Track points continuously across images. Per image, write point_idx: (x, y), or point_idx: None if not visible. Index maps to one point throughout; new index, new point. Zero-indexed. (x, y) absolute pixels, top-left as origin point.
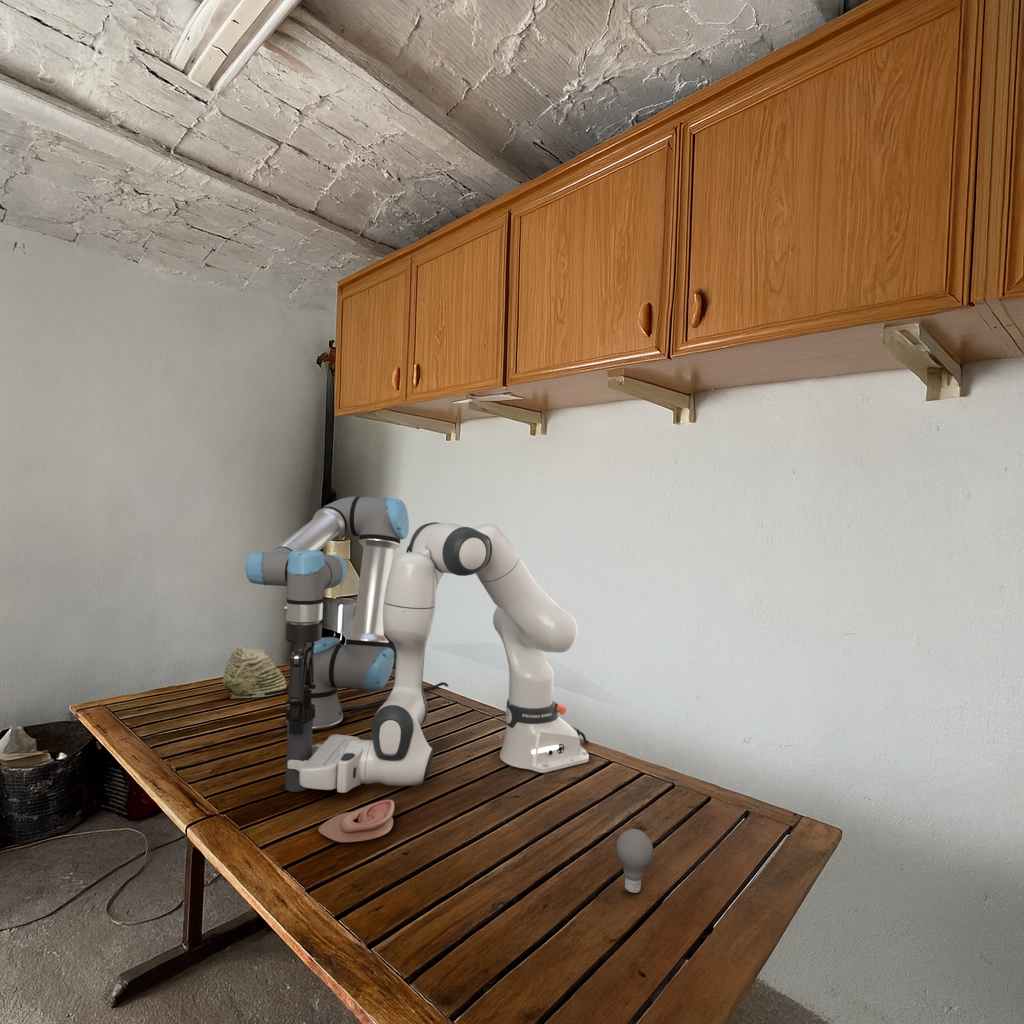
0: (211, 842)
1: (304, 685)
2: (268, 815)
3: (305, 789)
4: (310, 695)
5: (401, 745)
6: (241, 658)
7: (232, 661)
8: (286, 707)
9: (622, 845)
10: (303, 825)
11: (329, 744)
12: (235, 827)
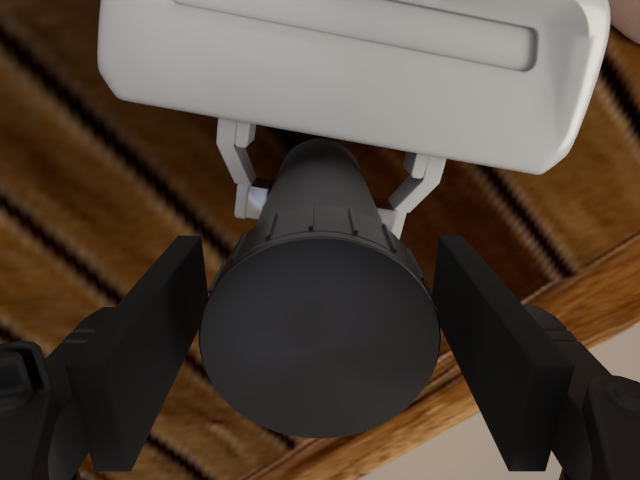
0: (617, 321)
1: (51, 475)
2: (506, 224)
3: (347, 149)
4: (132, 335)
5: None
6: None
7: None
8: (340, 436)
9: None
10: (596, 106)
11: (258, 81)
12: (555, 289)
